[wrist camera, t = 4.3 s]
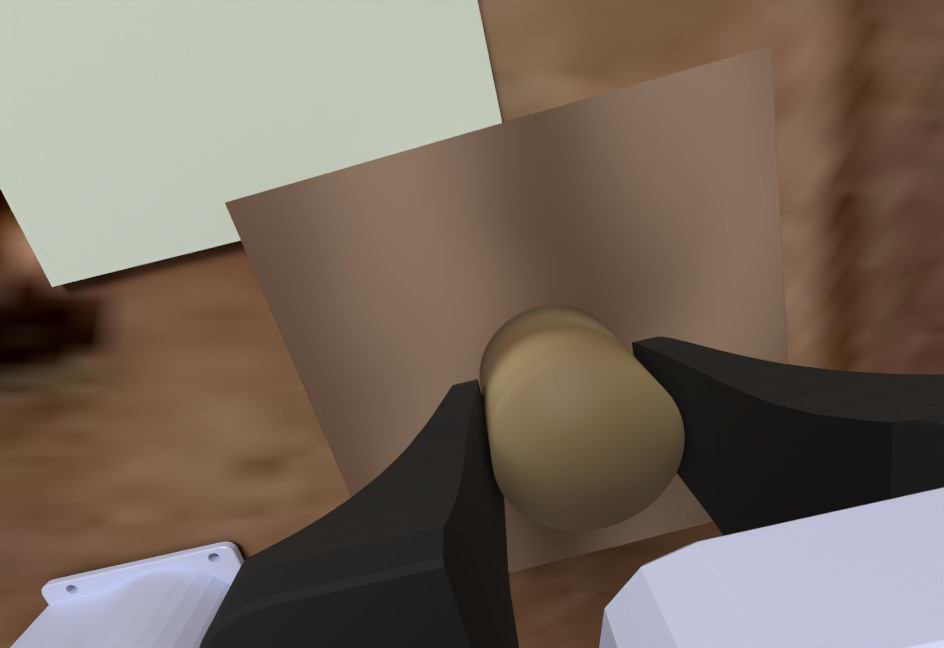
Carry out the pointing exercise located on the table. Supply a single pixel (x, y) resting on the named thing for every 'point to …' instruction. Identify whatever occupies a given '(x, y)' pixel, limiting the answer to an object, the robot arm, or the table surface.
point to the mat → (213, 111)
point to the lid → (538, 293)
